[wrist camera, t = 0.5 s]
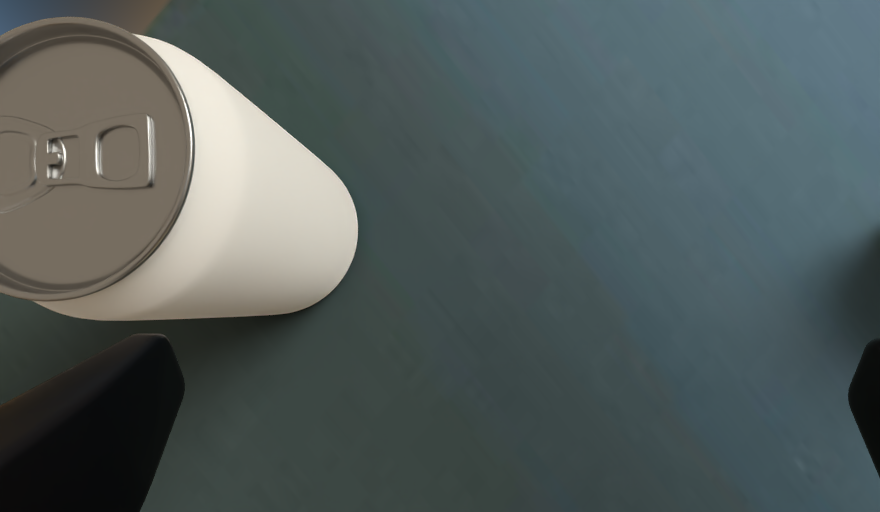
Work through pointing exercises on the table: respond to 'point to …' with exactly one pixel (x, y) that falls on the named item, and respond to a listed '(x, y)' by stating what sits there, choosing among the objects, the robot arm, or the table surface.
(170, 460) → the table surface
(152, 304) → the can
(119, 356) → the robot arm
